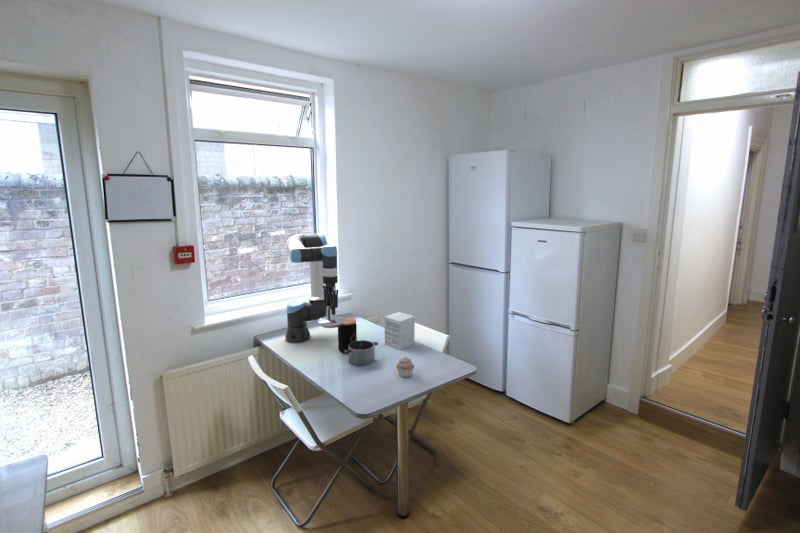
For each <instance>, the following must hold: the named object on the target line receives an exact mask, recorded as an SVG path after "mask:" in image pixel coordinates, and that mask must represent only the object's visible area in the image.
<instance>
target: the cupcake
mask: <svg viewBox="0 0 800 533" xmlns="http://www.w3.org/2000/svg"><path fill="white" fill-rule="evenodd" d="M395 368H396V370H397V372H398V373H397V374H398V376H399V377H400V378H403V379H405V378H407V379H408V378H409V377H411V376H412V374H413V371H414V369H415V364H413V361H412V360H411V359H410V358H409V357H407V356H404V357H403V358H401V359H399V361H397V364H396V366H395Z"/></svg>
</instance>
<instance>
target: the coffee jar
mask: <svg viewBox="0 0 800 533" xmlns="http://www.w3.org/2000/svg"><path fill="white" fill-rule="evenodd" d="M343 318H344V319H345V322H344V323H343V324H341V326H339V327H337V348H338V351H339V352H340V353H342V354H345V353H344V350H346V349H348V344H350V343H351V342H354V341H358V336H357V335H358V334H357V333H358V332H357V330H358V329H357V328H358V327H357V319H356V318H353V317H343Z"/></svg>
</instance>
